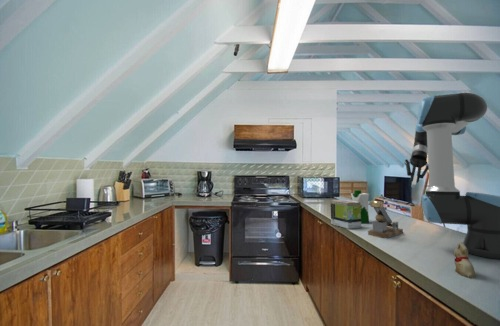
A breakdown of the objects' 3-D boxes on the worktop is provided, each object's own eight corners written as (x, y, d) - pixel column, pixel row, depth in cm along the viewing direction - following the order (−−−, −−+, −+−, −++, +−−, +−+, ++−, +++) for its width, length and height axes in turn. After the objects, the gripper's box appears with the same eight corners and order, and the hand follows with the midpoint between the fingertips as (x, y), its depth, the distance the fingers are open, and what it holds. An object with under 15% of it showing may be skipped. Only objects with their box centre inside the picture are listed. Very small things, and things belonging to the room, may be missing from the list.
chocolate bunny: (477, 271, 85) (475, 240, 85) (474, 279, 79) (473, 246, 80) (455, 267, 89) (454, 237, 89) (451, 274, 83) (450, 242, 84)
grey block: (377, 230, 134) (376, 220, 135) (386, 231, 130) (386, 221, 130) (372, 231, 132) (372, 221, 132) (382, 233, 128) (382, 222, 128)
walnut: (384, 222, 129) (384, 215, 129) (376, 222, 130) (376, 214, 130) (382, 220, 133) (381, 213, 133) (374, 220, 133) (374, 213, 134)
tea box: (362, 227, 149) (361, 201, 150) (348, 229, 146) (347, 202, 146) (343, 222, 163) (342, 199, 164) (330, 224, 160) (329, 200, 160)
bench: (385, 229, 143) (385, 218, 143) (402, 232, 136) (402, 221, 136) (368, 234, 133) (367, 222, 133) (385, 238, 126) (385, 225, 126)
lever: (384, 220, 139) (371, 199, 132) (394, 222, 135) (381, 200, 128) (382, 225, 137) (369, 204, 131) (392, 227, 133) (379, 205, 127)
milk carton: (350, 221, 165) (349, 190, 165) (359, 220, 169) (358, 189, 170) (362, 224, 157) (361, 191, 158) (371, 222, 162) (370, 190, 162)
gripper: (431, 161, 149) (426, 193, 136) (405, 156, 155) (398, 186, 142) (434, 152, 143) (430, 184, 131) (407, 147, 149) (401, 178, 137)
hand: (413, 185), depth 137 cm, fingers closed
